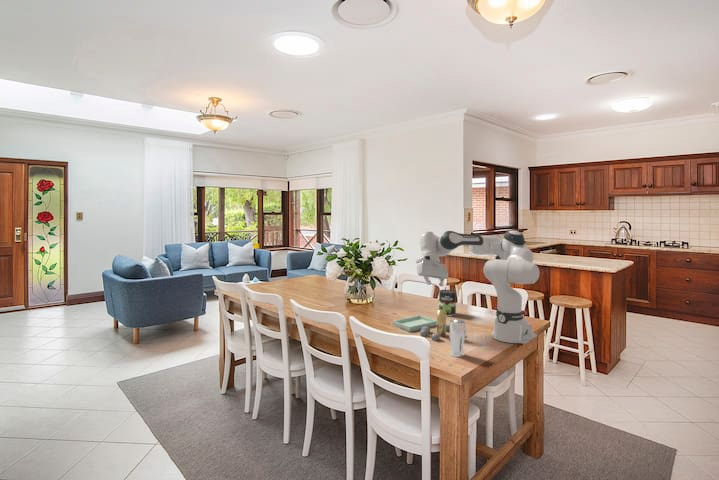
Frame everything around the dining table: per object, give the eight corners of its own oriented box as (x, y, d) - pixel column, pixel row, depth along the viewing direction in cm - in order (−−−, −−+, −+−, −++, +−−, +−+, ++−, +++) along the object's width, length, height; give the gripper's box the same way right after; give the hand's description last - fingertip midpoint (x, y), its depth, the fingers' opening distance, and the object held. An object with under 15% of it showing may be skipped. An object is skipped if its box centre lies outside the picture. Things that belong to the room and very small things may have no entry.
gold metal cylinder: (441, 333, 196) (441, 308, 195) (447, 335, 192) (448, 310, 191) (435, 335, 194) (435, 310, 193) (441, 337, 190) (441, 311, 189)
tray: (419, 319, 221) (419, 315, 221) (436, 325, 209) (436, 320, 209) (392, 325, 210) (392, 320, 210) (409, 332, 198) (409, 327, 198)
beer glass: (464, 358, 163) (465, 324, 162) (447, 356, 166) (448, 322, 164) (466, 352, 170) (466, 320, 168) (450, 350, 172) (450, 318, 171)
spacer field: (440, 326, 207) (440, 322, 207) (471, 337, 189) (471, 332, 189) (414, 333, 196) (414, 328, 196) (444, 345, 179) (445, 340, 179)
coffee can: (455, 316, 226) (455, 293, 225) (437, 315, 229) (438, 292, 228) (456, 312, 236) (456, 290, 235) (439, 311, 239) (439, 289, 238)
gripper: (440, 264, 213) (444, 288, 208) (413, 259, 202) (417, 285, 196) (448, 261, 208) (453, 285, 203) (421, 255, 197) (425, 281, 191)
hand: (435, 285), depth 199 cm, fingers open, 8 cm apart
